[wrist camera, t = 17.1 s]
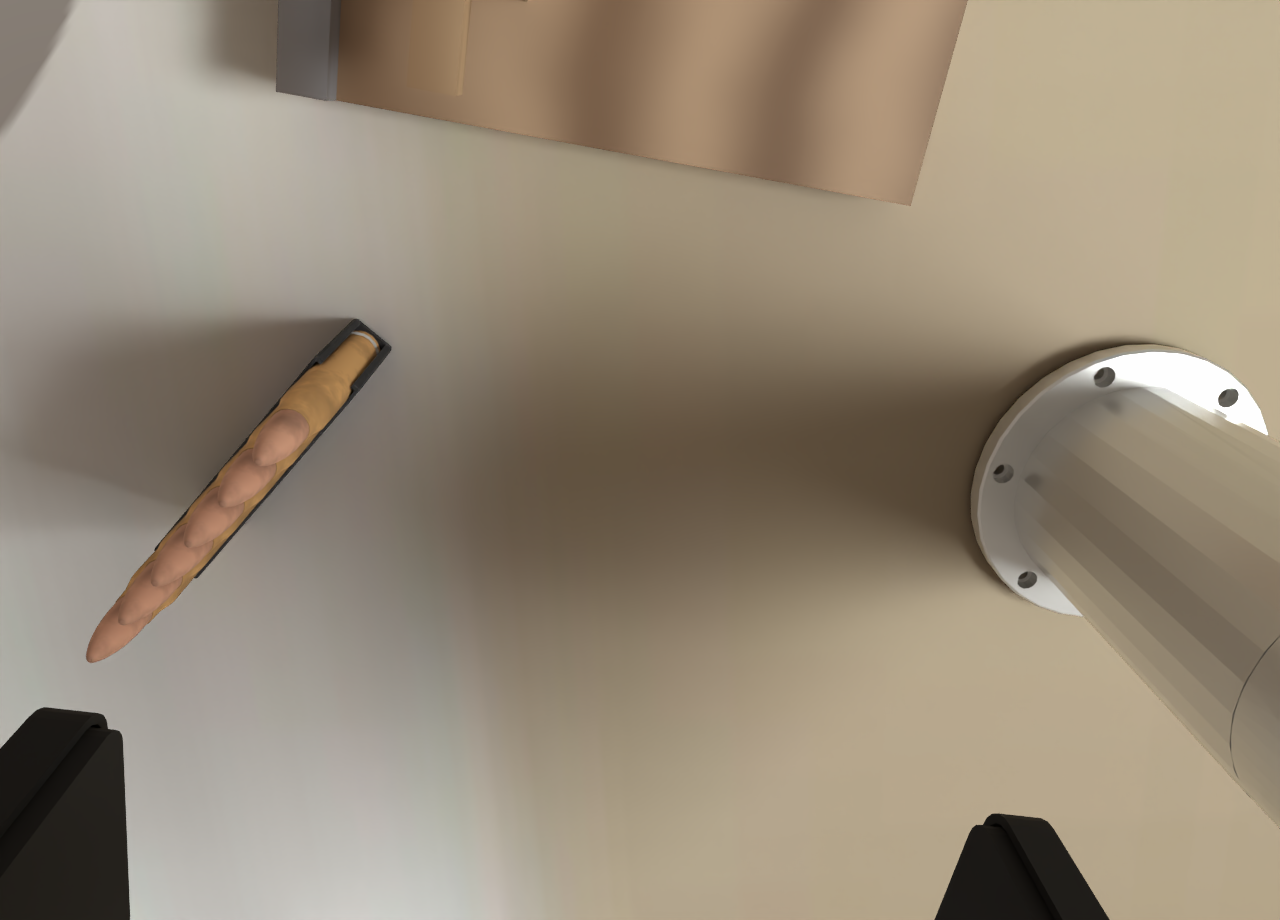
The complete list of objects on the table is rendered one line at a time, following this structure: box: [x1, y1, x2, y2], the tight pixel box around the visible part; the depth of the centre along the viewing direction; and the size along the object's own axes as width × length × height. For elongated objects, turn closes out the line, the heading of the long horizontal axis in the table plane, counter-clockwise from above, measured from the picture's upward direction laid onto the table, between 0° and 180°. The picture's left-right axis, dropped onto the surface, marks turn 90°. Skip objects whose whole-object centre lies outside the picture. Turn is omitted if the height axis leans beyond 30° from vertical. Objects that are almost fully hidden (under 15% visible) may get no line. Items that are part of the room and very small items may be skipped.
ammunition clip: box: [86, 319, 391, 663], centre depth 32 cm, size 11×2×12 cm, turn 137°
